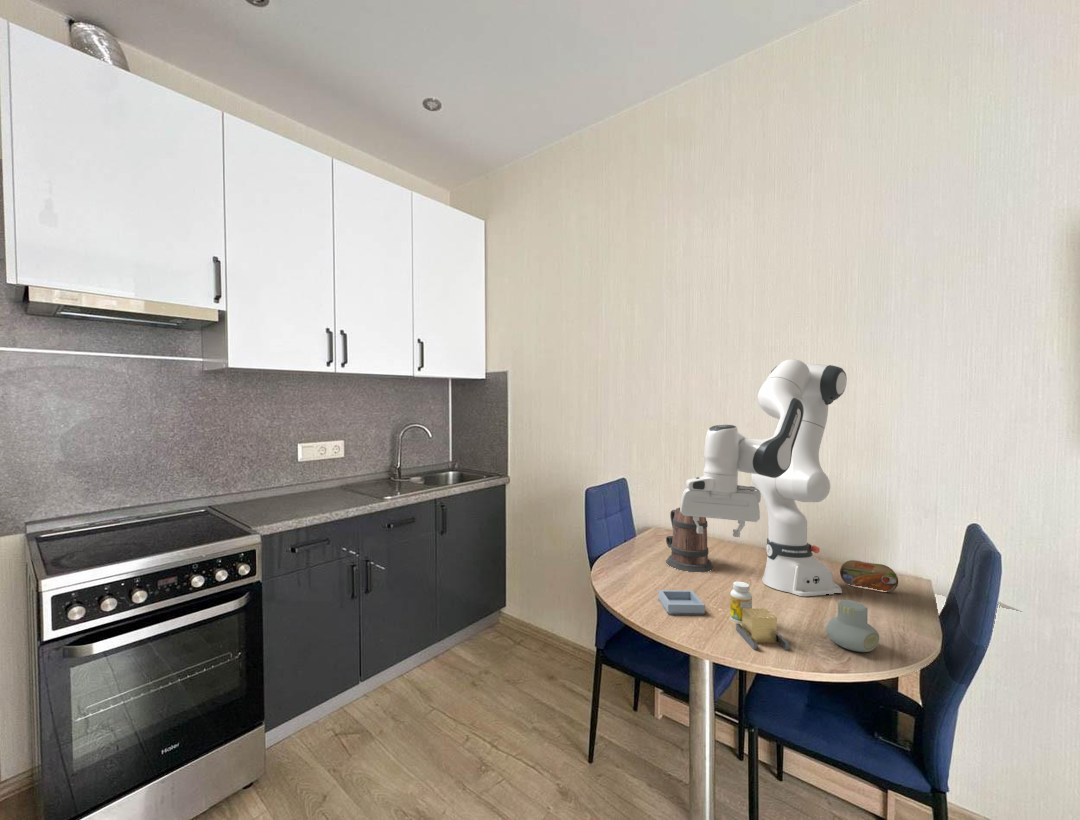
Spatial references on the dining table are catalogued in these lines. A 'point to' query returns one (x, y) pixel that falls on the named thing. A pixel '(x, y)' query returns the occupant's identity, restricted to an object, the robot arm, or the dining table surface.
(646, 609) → the dining table surface
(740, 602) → the supplement bottle
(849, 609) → the grey rounded piece
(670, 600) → the tray
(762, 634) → the block
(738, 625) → the piston track
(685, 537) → the tankard
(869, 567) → the tin
